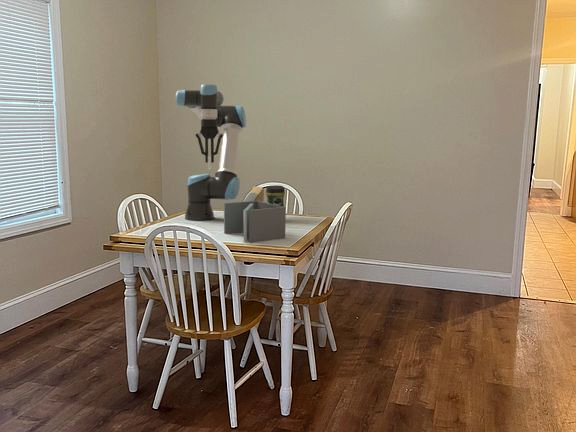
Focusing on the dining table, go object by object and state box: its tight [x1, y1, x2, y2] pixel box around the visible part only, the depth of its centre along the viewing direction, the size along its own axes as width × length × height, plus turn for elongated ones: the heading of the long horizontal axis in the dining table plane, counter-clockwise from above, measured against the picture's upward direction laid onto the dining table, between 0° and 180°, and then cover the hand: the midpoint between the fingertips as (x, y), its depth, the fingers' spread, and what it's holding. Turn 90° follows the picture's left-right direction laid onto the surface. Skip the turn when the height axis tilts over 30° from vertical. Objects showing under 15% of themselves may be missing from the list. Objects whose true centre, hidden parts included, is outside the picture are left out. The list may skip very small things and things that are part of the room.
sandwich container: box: [242, 186, 265, 202], centre depth 307 cm, size 9×15×15 cm, turn 133°
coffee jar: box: [265, 184, 286, 207], centre depth 287 cm, size 10×8×19 cm
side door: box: [243, 204, 254, 243], centre depth 244 cm, size 1×21×14 cm, turn 176°
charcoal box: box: [223, 201, 287, 244], centre depth 248 cm, size 18×24×14 cm
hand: (209, 169), depth 260 cm, fingers closed
